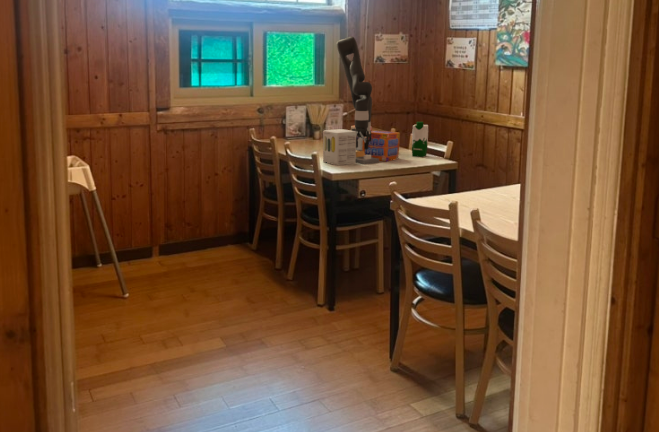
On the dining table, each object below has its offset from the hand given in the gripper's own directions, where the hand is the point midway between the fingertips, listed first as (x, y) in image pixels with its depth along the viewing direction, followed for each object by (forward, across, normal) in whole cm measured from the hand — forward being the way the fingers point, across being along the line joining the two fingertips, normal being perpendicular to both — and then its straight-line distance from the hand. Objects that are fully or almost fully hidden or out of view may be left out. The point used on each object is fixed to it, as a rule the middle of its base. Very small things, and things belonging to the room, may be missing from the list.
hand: (361, 148), depth 393 cm
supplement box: (+7, +3, +13) cm, 15 cm away
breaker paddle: (+5, 0, 0) cm, 5 cm away
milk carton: (+7, -5, -41) cm, 42 cm away
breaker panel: (+7, 0, 0) cm, 7 cm away
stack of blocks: (+8, +46, -46) cm, 65 cm away
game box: (+8, 0, -15) cm, 17 cm away
